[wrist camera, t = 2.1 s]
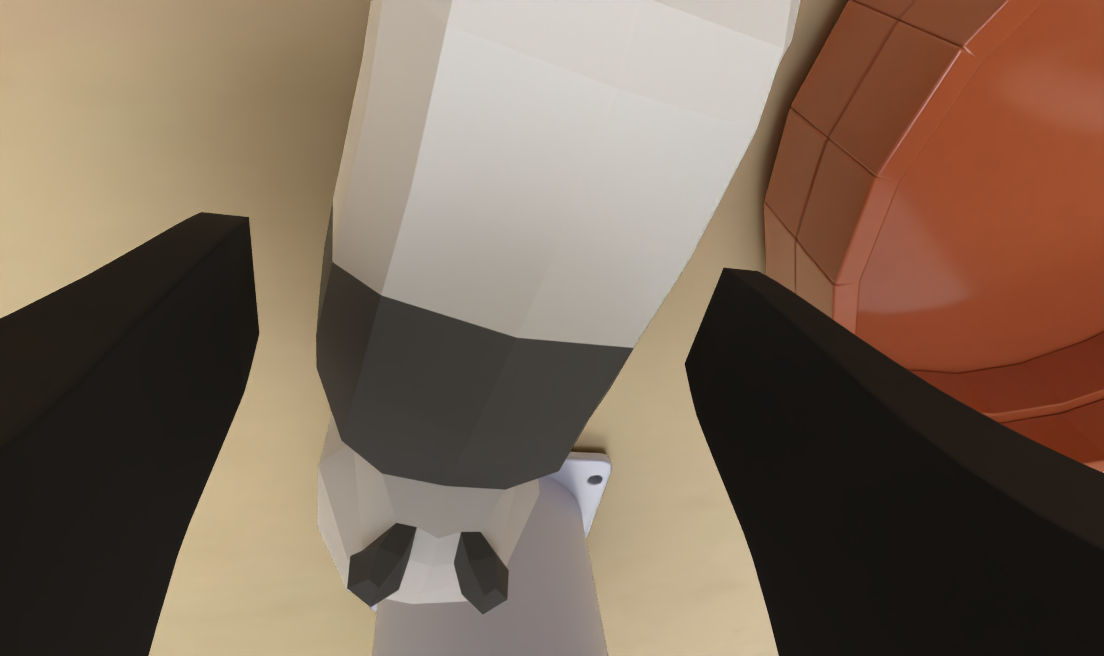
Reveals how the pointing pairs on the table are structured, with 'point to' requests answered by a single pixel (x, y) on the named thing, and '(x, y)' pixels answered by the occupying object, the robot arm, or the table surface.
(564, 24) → the giant panda
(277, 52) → the table surface
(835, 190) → the bowl
